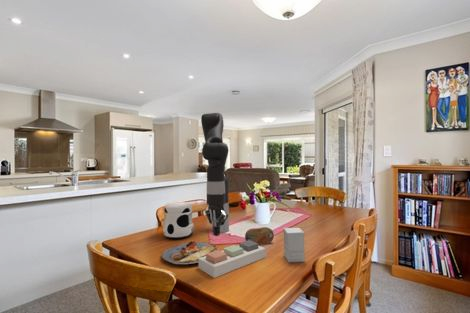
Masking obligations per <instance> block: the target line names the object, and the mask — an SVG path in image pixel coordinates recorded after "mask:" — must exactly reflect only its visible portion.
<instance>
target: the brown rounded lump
mask: <svg viewBox="0 0 470 313" xmlns="http://www.w3.org/2000/svg"><path fill="white" fill-rule="evenodd" d="M274 234H275V233H274V231H273V230H272V229H271V228H269V227H268V226H267V227H266V226H263V227H253V228H249V229H248V230H247V231H245V234H244V239H245V241H248V240H250V241H253V242H255V243H258V246H264V245H269V244H271V243H272V242H273V240H274V237H275V236H274Z"/></svg>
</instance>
